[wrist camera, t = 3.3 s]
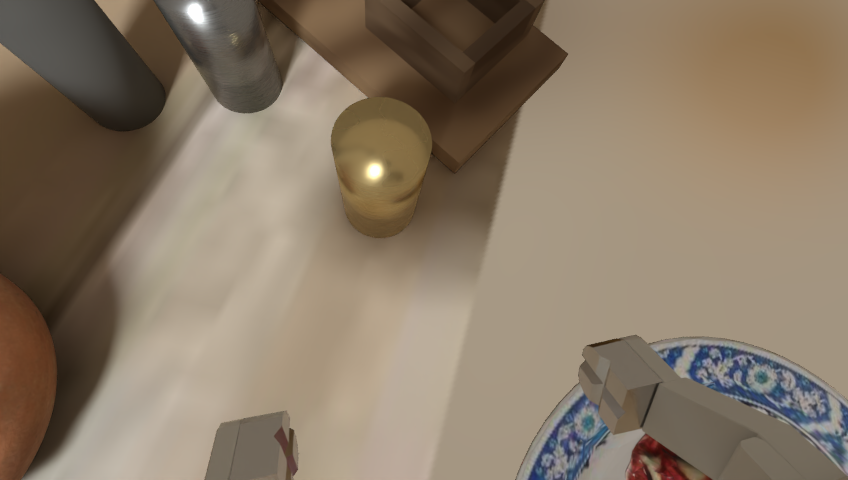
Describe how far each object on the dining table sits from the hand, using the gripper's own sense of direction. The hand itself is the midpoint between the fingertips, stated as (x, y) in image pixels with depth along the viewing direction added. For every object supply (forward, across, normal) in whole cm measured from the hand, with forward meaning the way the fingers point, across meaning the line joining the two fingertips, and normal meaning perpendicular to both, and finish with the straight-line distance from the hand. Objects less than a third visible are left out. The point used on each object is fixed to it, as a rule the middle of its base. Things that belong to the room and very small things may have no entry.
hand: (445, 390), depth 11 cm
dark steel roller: (+23, +7, -5) cm, 24 cm away
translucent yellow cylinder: (+16, 0, +2) cm, 16 cm away
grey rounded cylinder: (+22, +14, -5) cm, 27 cm away
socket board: (+25, -4, -8) cm, 27 cm away
